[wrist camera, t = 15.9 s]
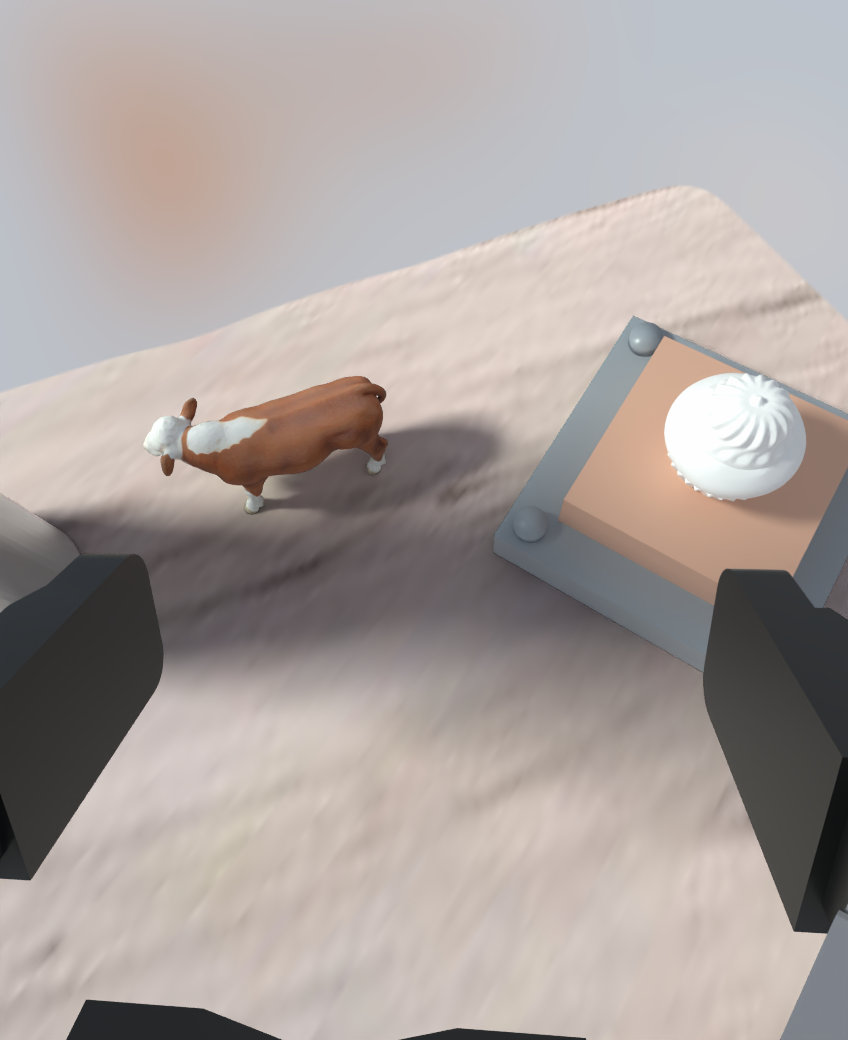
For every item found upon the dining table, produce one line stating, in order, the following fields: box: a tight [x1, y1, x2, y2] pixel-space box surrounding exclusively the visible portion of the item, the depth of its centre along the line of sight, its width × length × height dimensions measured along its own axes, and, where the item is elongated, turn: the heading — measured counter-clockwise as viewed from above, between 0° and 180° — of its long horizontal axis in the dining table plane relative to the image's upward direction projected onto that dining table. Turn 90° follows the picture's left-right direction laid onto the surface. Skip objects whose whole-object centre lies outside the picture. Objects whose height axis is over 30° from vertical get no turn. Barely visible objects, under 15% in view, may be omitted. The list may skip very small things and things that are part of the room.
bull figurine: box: [143, 376, 388, 514], centre depth 42 cm, size 4×13×8 cm, turn 103°
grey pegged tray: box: [493, 316, 848, 673], centre depth 40 cm, size 16×16×6 cm
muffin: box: [664, 373, 806, 501], centre depth 34 cm, size 6×6×7 cm
